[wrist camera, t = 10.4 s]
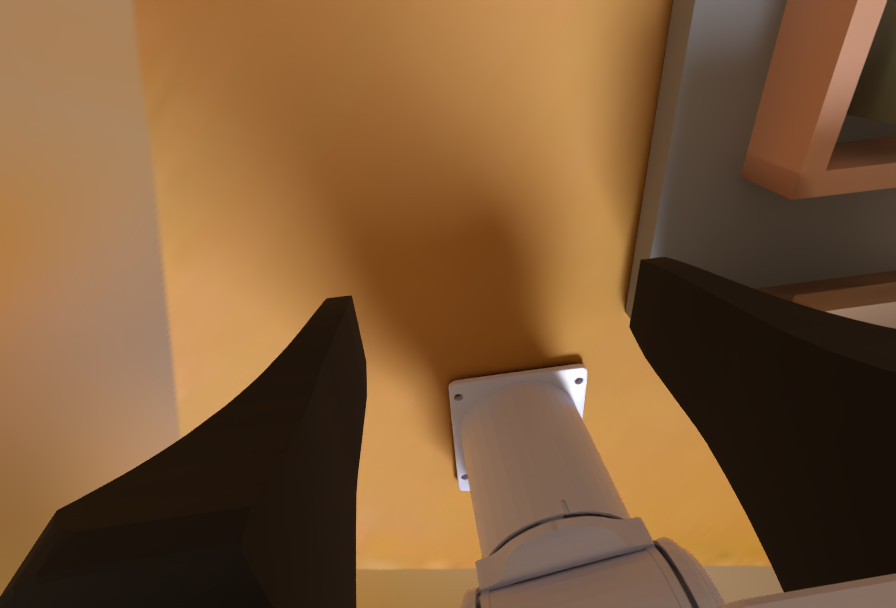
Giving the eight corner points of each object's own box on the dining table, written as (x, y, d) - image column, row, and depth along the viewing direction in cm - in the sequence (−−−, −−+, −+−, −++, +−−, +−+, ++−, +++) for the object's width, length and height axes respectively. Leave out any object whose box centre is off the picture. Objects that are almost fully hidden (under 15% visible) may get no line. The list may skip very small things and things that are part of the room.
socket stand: (900, 276, 26) (988, 320, 22) (625, 311, 25) (667, 364, 21) (1125, -166, 17) (1346, -220, 13) (693, -134, 16) (792, -181, 12)
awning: (913, 283, 25) (1113, 385, 18) (658, 317, 24) (766, 437, 17) (967, 181, 22) (1232, 257, 15) (678, 215, 21) (819, 312, 14)
